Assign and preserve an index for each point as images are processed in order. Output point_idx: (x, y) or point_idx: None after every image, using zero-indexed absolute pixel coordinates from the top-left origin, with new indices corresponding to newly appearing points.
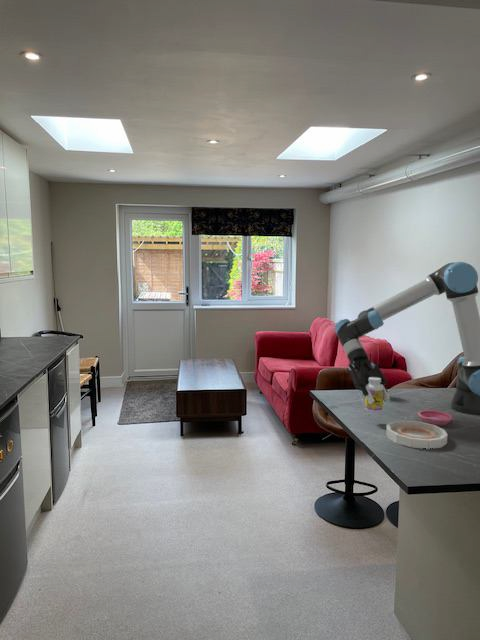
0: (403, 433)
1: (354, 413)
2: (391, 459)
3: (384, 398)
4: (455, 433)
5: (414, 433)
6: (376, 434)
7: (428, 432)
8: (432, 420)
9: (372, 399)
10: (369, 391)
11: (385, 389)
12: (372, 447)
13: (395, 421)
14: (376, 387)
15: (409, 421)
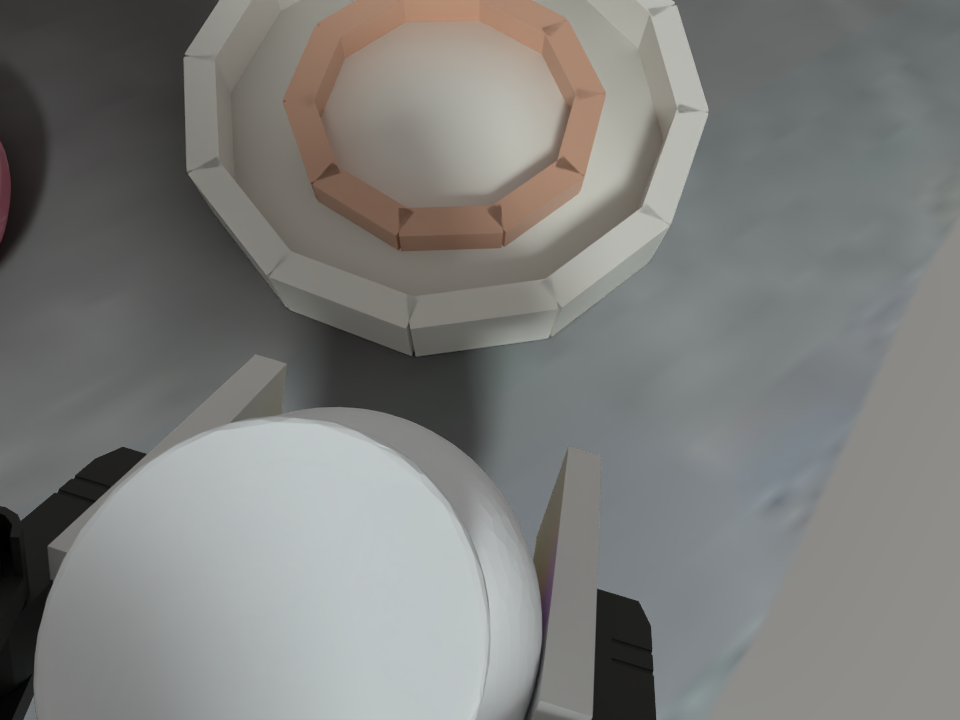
0: (576, 135)
1: None
2: (956, 32)
3: None
4: (90, 9)
5: (419, 139)
6: (666, 361)
7: (338, 59)
8: (4, 158)
9: (597, 470)
10: (571, 580)
11: (97, 489)
12: (926, 214)
13: (390, 309)
14: (455, 463)
15: (271, 228)
